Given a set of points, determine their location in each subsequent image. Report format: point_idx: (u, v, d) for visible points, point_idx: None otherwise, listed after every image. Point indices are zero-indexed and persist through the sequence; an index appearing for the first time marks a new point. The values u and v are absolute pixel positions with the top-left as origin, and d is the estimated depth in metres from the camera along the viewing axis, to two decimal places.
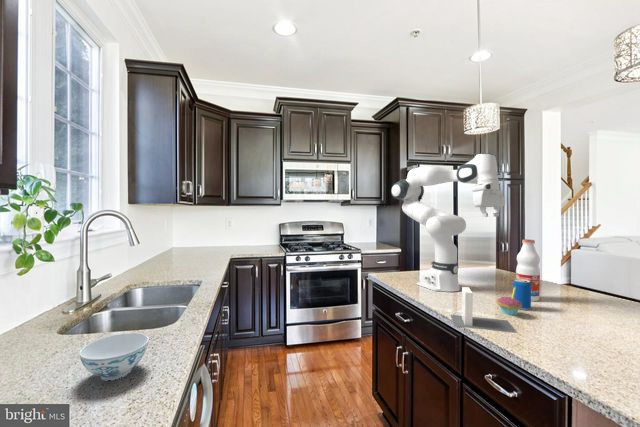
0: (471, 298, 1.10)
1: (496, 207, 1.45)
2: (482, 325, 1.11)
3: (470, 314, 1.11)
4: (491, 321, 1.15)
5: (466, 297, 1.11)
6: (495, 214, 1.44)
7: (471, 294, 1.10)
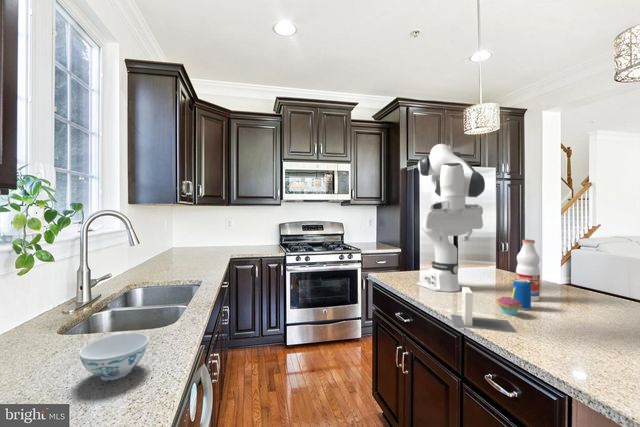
0: (471, 298, 1.10)
1: (468, 229, 1.15)
2: (482, 325, 1.11)
3: (470, 314, 1.11)
4: (491, 321, 1.15)
5: (466, 297, 1.11)
6: None
7: (471, 294, 1.10)
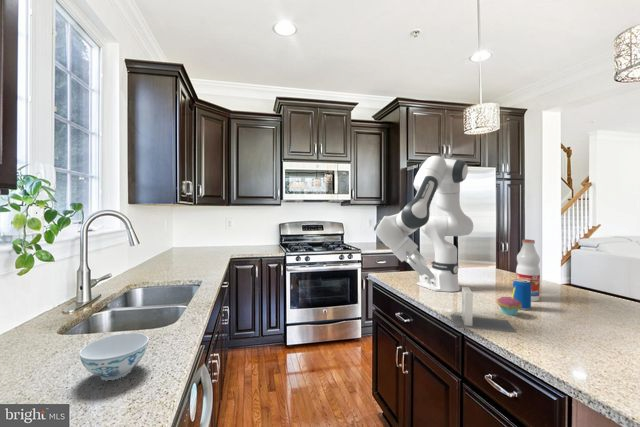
0: (471, 298, 1.10)
1: None
2: (482, 325, 1.11)
3: (470, 314, 1.11)
4: (491, 321, 1.15)
5: (466, 297, 1.11)
6: None
7: (471, 294, 1.10)
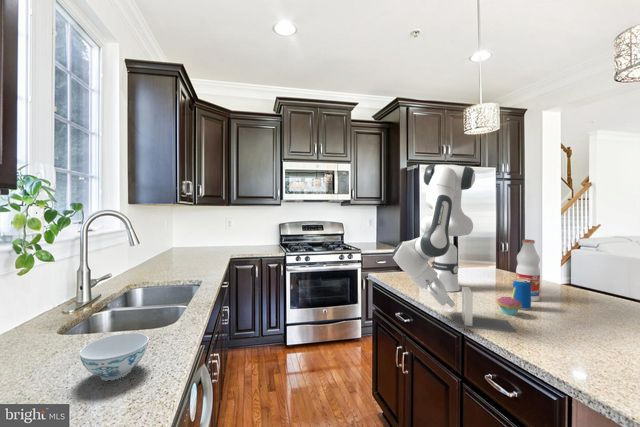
0: (471, 298, 1.10)
1: None
2: (482, 325, 1.11)
3: (470, 314, 1.11)
4: (491, 321, 1.15)
5: (466, 297, 1.11)
6: None
7: (471, 294, 1.10)
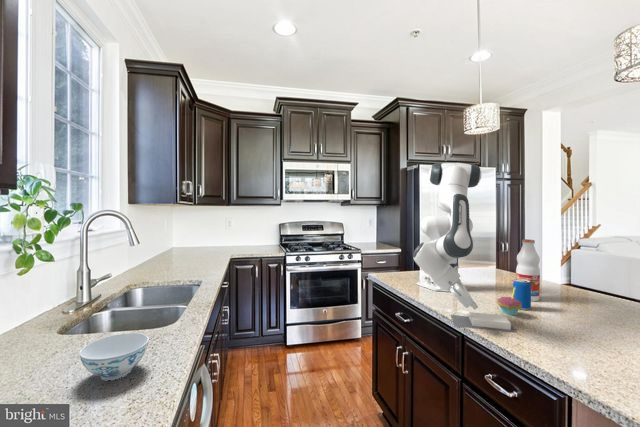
0: (504, 328, 1.08)
1: None
2: None
3: (485, 325, 1.09)
4: None
5: (504, 323, 1.07)
6: None
7: (508, 328, 1.07)
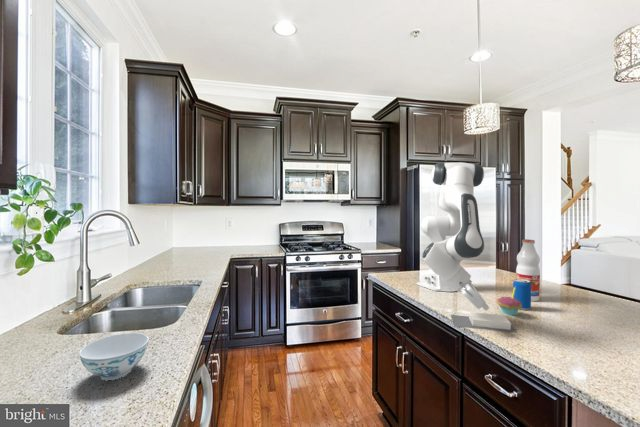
0: (504, 328, 1.08)
1: None
2: None
3: (485, 325, 1.09)
4: None
5: (504, 323, 1.07)
6: None
7: (508, 328, 1.07)
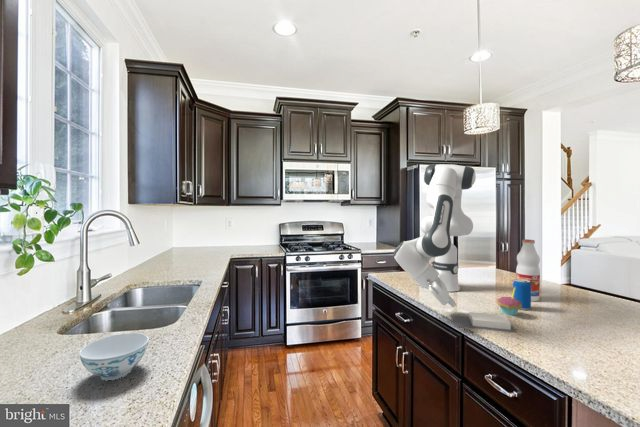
0: (504, 328, 1.08)
1: None
2: None
3: (485, 325, 1.09)
4: None
5: (504, 323, 1.07)
6: None
7: (508, 328, 1.07)
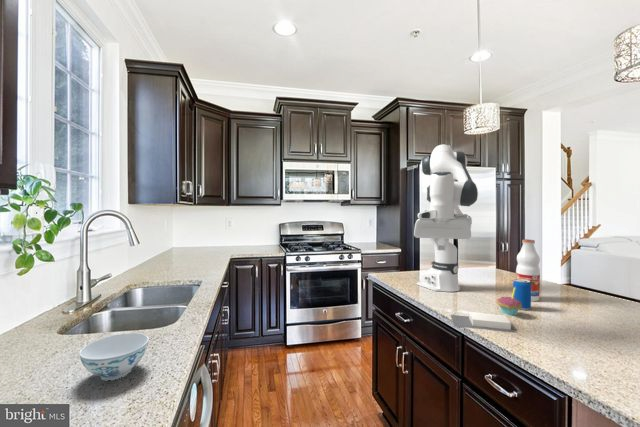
0: (504, 328, 1.08)
1: (444, 239, 1.16)
2: None
3: (485, 325, 1.09)
4: None
5: (504, 323, 1.07)
6: None
7: (508, 328, 1.07)
